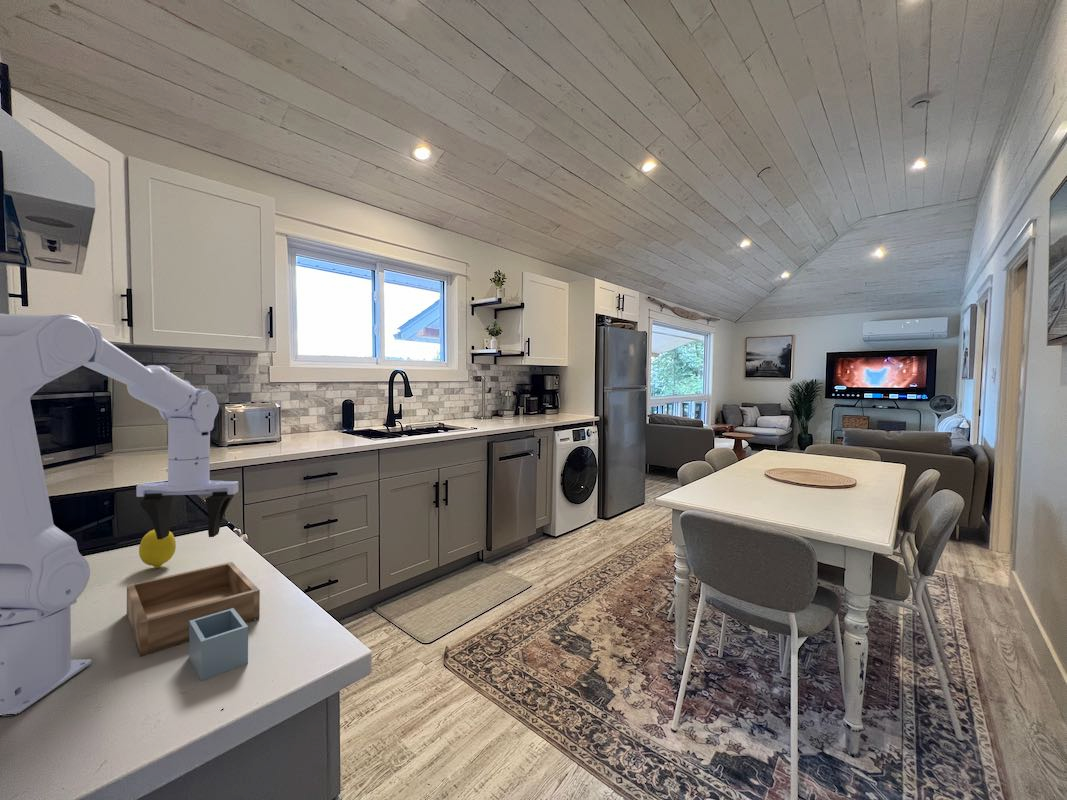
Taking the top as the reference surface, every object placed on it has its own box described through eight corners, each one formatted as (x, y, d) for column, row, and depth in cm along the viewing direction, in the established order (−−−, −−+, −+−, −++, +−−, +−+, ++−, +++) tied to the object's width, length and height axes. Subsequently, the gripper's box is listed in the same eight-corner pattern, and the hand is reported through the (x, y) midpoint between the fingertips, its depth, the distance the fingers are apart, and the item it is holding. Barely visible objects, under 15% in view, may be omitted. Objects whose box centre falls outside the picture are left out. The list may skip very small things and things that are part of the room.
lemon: (154, 574, 85) (154, 532, 85) (131, 571, 86) (131, 530, 86) (182, 563, 90) (183, 524, 90) (160, 561, 91) (160, 522, 91)
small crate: (248, 664, 58) (248, 626, 58) (200, 682, 55) (201, 641, 55) (233, 643, 63) (233, 607, 63) (189, 658, 60) (189, 620, 59)
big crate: (259, 618, 70) (259, 590, 70) (139, 656, 59) (140, 622, 59) (231, 586, 81) (231, 561, 80) (126, 613, 70) (126, 585, 70)
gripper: (245, 454, 83) (245, 527, 83) (154, 455, 80) (153, 531, 80) (228, 459, 76) (228, 539, 76) (128, 461, 73) (127, 544, 73)
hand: (188, 536), depth 77 cm, fingers open, 7 cm apart
